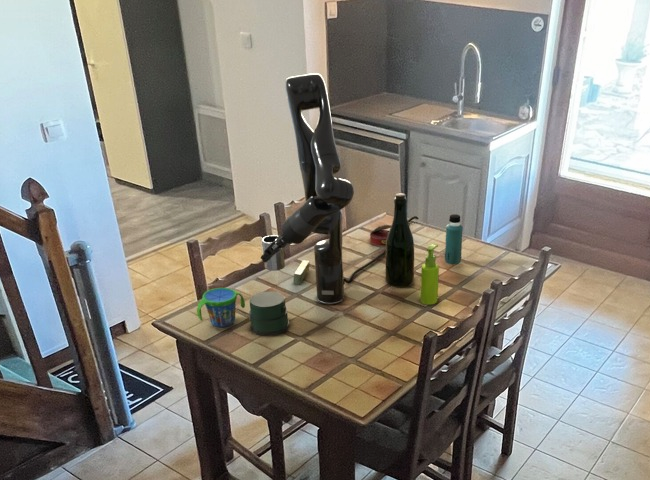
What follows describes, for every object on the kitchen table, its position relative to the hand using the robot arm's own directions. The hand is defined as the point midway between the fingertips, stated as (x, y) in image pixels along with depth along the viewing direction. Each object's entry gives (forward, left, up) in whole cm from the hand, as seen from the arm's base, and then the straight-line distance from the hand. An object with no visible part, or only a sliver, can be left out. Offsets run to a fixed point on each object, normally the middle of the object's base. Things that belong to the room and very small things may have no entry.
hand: (269, 255), depth 207 cm
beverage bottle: (-69, +37, -25) cm, 82 cm away
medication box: (-36, -11, -25) cm, 45 cm away
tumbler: (0, +2, -3) cm, 4 cm away
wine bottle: (-47, +24, -25) cm, 58 cm away
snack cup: (+4, -17, -25) cm, 31 cm away
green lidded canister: (0, -2, -25) cm, 25 cm away
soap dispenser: (-38, +39, -25) cm, 60 cm away
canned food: (-79, +3, -25) cm, 83 cm away
